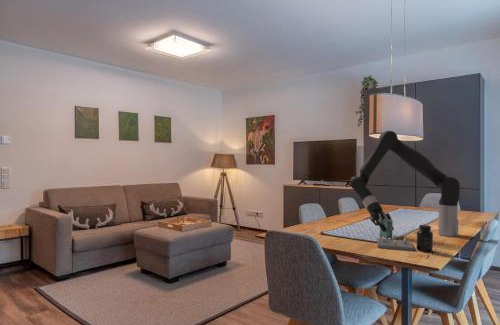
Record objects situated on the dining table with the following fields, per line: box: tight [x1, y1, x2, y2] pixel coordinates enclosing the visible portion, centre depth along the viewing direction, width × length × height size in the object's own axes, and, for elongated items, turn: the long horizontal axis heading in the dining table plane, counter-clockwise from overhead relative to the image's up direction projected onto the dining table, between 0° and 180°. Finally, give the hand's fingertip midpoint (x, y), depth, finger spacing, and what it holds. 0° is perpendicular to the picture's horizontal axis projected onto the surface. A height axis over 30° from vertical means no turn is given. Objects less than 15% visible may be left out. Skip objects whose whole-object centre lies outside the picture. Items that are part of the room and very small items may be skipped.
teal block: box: [379, 219, 394, 239], centre depth 187 cm, size 4×4×10 cm
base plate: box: [376, 234, 415, 252], centre depth 172 cm, size 16×14×4 cm
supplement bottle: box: [416, 224, 434, 253], centre depth 163 cm, size 7×7×12 cm
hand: (388, 230), depth 185 cm, fingers open, 5 cm apart
